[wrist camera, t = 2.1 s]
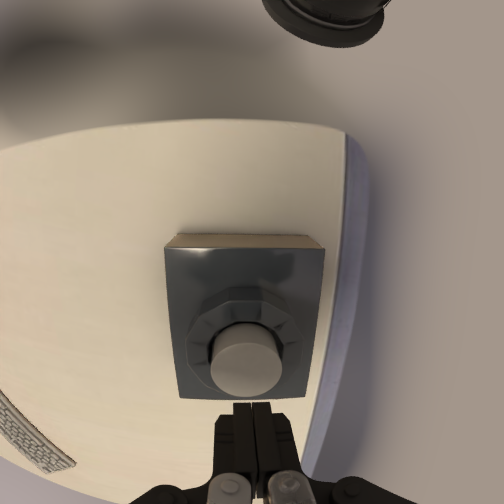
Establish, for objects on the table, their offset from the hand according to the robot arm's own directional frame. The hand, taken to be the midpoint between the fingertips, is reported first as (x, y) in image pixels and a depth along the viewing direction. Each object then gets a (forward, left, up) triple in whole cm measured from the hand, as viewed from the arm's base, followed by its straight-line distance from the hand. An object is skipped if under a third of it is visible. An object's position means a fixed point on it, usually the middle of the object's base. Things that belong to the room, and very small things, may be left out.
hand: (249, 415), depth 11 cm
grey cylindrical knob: (0, 0, -5) cm, 5 cm away
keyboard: (+18, -36, -11) cm, 42 cm away
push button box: (0, 0, -11) cm, 11 cm away
